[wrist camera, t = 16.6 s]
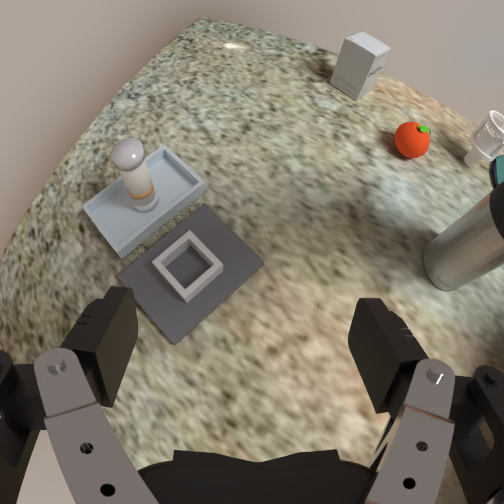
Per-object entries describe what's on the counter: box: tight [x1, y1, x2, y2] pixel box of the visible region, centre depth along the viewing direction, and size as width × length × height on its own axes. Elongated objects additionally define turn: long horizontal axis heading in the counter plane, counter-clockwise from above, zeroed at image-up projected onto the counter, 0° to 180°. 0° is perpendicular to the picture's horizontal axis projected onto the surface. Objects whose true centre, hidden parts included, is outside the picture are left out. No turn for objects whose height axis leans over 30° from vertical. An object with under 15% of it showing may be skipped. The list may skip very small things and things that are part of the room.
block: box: [117, 204, 264, 345], centre depth 42 cm, size 16×12×4 cm
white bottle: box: [111, 138, 159, 213], centre depth 41 cm, size 4×4×12 cm
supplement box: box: [330, 32, 391, 101], centre depth 55 cm, size 7×7×13 cm
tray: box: [82, 145, 206, 259], centre depth 45 cm, size 16×10×3 cm, turn 135°
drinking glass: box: [464, 110, 504, 168], centre depth 50 cm, size 7×7×15 cm
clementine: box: [395, 122, 431, 158], centre depth 52 cm, size 8×7×7 cm
